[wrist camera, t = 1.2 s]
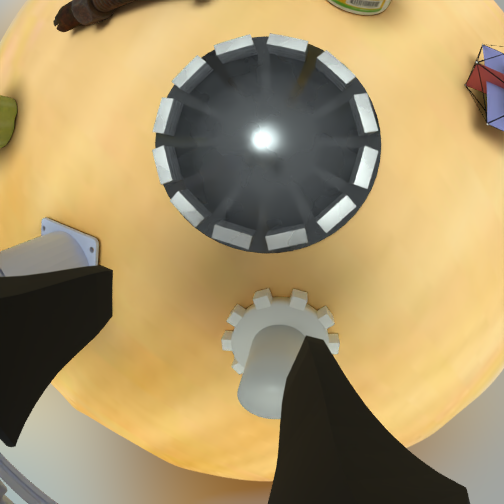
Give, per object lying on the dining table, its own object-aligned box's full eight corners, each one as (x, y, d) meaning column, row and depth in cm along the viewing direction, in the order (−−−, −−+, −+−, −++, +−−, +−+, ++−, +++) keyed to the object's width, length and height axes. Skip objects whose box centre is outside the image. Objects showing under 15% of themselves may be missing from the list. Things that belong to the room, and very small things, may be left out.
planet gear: (311, 388, 20) (310, 446, 15) (216, 361, 21) (192, 415, 15) (355, 307, 18) (374, 362, 12) (241, 272, 18) (216, 317, 13)
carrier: (337, 275, 17) (342, 291, 15) (145, 215, 18) (125, 221, 16) (395, 79, 13) (408, 67, 11) (195, 33, 14) (181, 18, 12)
